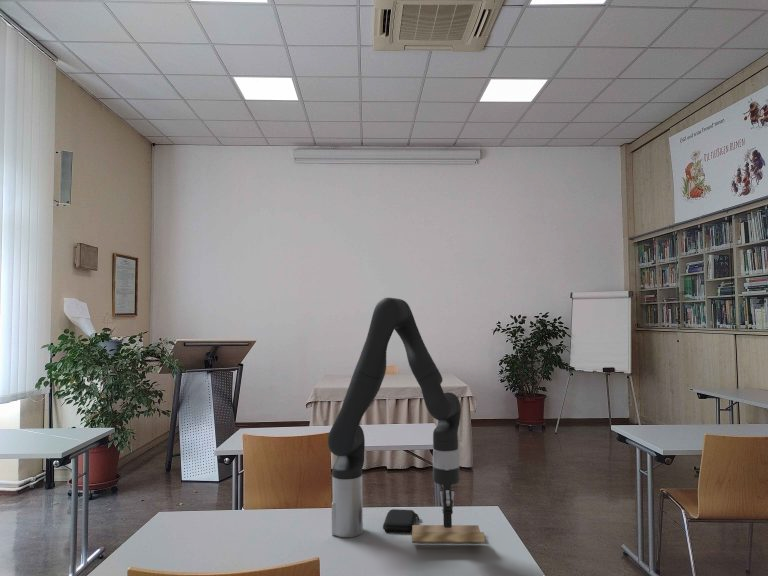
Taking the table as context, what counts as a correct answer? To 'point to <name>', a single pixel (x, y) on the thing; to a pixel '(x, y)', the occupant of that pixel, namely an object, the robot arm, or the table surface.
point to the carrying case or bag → (400, 521)
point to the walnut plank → (442, 529)
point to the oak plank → (448, 537)
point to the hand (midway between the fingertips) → (447, 526)
